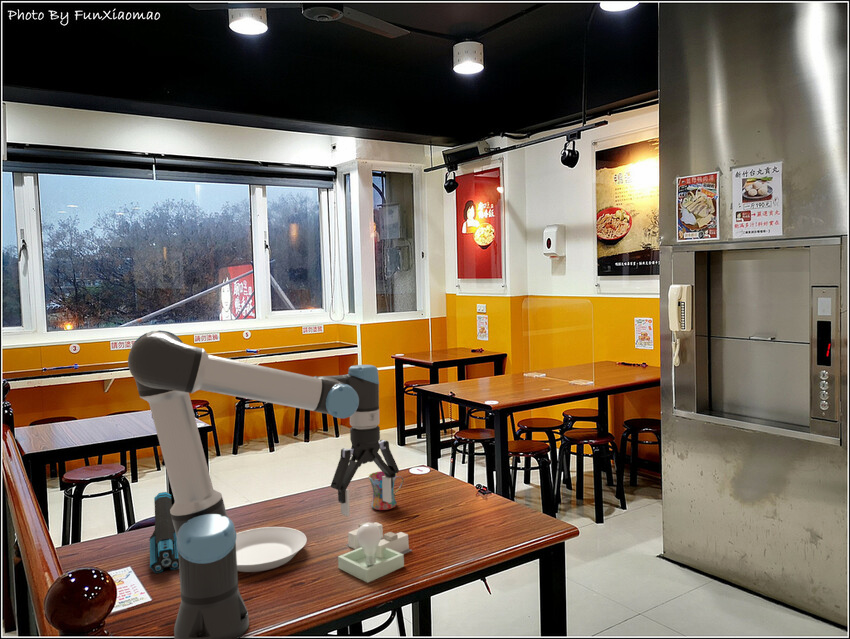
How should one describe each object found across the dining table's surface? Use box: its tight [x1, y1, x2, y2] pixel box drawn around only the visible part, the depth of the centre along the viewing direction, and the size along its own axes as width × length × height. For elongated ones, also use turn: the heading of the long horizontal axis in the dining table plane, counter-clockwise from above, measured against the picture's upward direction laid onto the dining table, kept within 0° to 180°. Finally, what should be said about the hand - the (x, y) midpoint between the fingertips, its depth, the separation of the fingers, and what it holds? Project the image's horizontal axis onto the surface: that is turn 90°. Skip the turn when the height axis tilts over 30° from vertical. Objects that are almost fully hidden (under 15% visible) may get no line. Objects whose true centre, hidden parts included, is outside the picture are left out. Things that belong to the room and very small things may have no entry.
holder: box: [345, 521, 413, 559], centre depth 174 cm, size 10×17×6 cm, turn 44°
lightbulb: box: [357, 522, 381, 566], centre depth 162 cm, size 6×6×11 cm
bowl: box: [236, 526, 308, 573], centre depth 172 cm, size 25×25×4 cm
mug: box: [367, 470, 405, 511], centre depth 207 cm, size 12×9×11 cm
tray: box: [337, 547, 405, 584], centre depth 162 cm, size 12×12×3 cm
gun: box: [149, 491, 179, 574], centre depth 176 cm, size 8×26×15 cm, turn 23°
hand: (366, 508), depth 161 cm, fingers open, 13 cm apart
